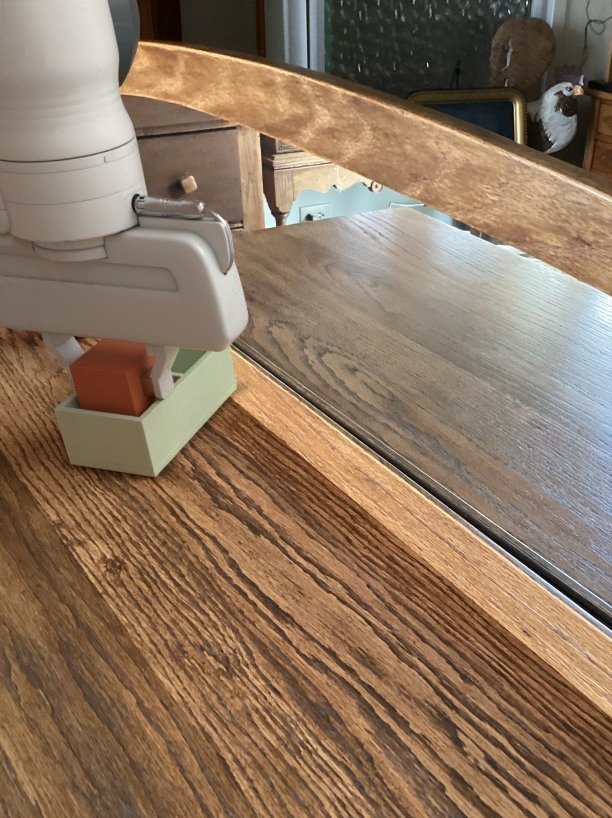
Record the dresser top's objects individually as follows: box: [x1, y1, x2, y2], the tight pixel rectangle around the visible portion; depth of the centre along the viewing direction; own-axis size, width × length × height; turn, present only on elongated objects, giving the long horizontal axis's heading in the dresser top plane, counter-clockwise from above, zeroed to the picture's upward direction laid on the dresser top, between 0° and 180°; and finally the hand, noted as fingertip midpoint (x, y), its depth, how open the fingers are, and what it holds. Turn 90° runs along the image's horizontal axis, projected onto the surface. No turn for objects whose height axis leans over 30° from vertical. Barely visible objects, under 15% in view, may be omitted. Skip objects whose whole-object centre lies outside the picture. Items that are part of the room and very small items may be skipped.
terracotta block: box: [69, 339, 159, 417], centre depth 63 cm, size 4×4×4 cm
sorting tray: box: [53, 345, 238, 478], centre depth 68 cm, size 7×14×5 cm, turn 163°
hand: (123, 389), depth 64 cm, fingers closed on terracotta block, 4 cm apart
